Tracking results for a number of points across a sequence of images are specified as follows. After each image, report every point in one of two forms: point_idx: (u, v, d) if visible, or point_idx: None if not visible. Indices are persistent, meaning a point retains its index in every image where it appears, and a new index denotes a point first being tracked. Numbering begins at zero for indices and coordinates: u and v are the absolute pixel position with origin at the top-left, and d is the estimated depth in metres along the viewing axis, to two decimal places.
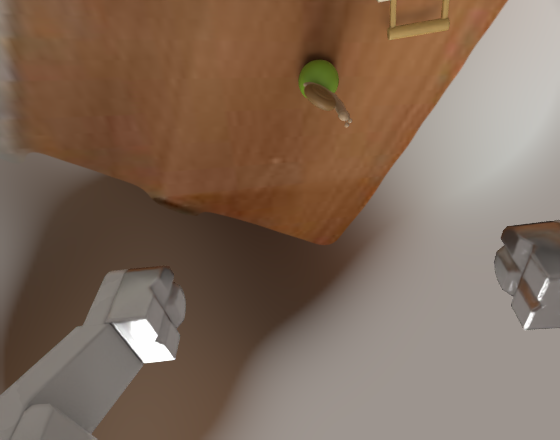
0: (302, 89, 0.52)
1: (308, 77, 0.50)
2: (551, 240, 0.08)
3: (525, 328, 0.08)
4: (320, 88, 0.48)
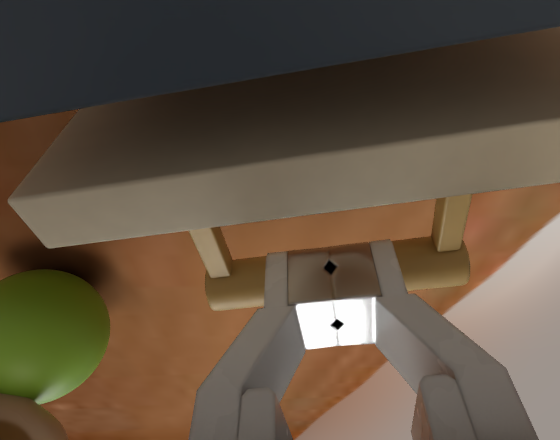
0: None
1: None
2: (354, 261, 0.08)
3: (341, 343, 0.09)
4: None
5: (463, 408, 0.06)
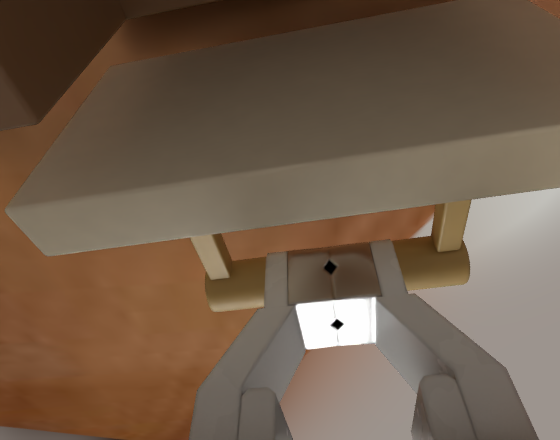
0: None
1: None
2: (354, 261, 0.08)
3: (342, 343, 0.09)
4: None
5: (463, 408, 0.06)
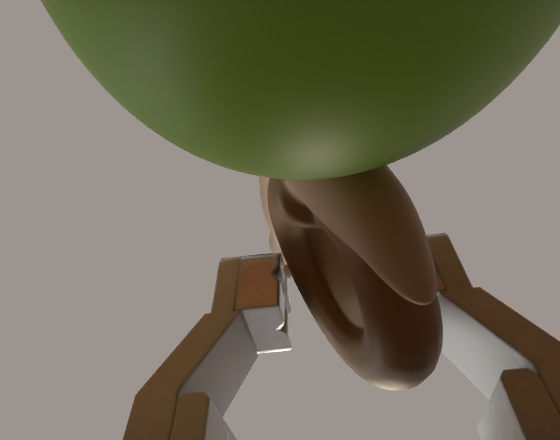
0: (252, 155, 0.03)
1: None
2: None
3: None
4: None
5: (550, 402, 0.06)
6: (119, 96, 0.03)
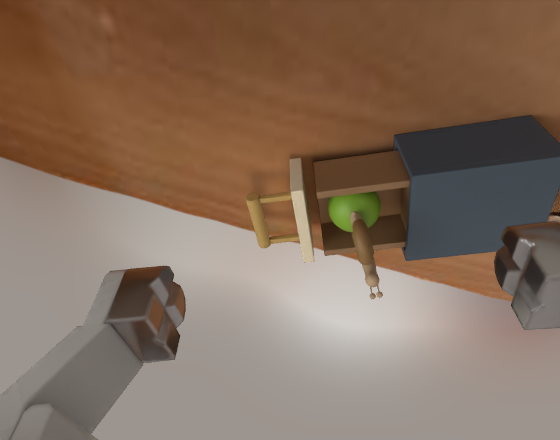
0: (337, 206, 0.38)
1: (356, 202, 0.38)
2: (551, 240, 0.08)
3: (525, 328, 0.08)
4: (368, 232, 0.36)
5: None
6: (330, 210, 0.40)
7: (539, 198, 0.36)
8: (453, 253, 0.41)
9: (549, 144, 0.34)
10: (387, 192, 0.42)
